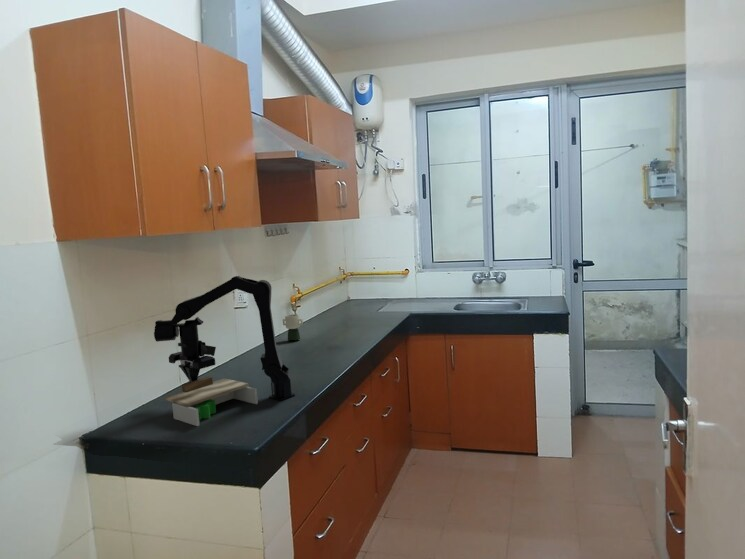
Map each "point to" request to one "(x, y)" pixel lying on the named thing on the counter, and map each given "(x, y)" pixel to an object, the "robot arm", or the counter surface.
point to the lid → (204, 390)
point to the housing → (191, 412)
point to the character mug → (293, 326)
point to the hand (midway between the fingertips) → (194, 385)
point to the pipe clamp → (206, 408)
